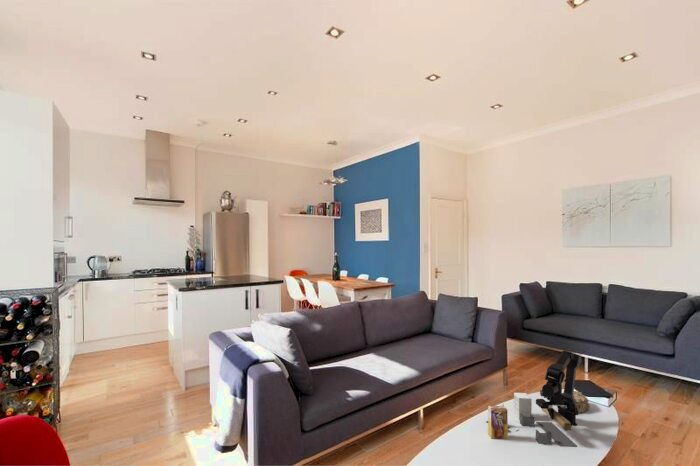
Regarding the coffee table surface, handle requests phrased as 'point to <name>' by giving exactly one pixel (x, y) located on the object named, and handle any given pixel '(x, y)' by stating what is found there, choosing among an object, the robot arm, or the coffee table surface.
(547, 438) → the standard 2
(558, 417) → the rail
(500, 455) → the coffee table surface
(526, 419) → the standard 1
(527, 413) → the supplement box
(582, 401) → the rock
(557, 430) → the mat
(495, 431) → the candy box
